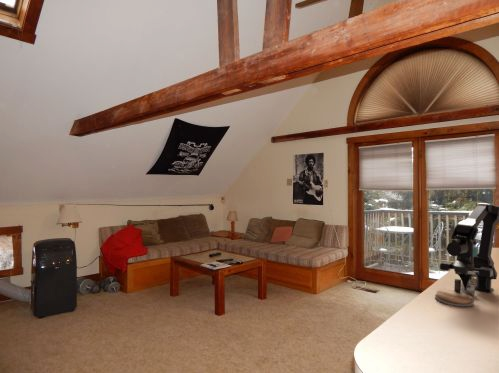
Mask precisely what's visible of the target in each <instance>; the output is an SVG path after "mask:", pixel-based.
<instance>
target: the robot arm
mask: <svg viewBox="0 0 499 373" xmlns="http://www.w3.org/2000/svg"><path fill="white" fill-rule="evenodd" d="M481 223H482V229H481V235H480V243H479V248H478V254H477V255H476V256H474V255H473V246H474V245H473V242H474V241H475V240H476V237H477V235H478V233H479V229H478V227H479V226H480V224H481ZM498 224H499V205H493V204H491V203H486V202H479V203H477V204H476V207H475V208H474V210H472V212H470V214H469V216H468V217H467V218H466V219H464V220H460V221H459V222H458V223H457V224H456V225H455V227H454V229H453V232H452V234H451V237H450V239H451V242H449V243H448V244H447V246H446V250H447V251H446V252H447V253H448V254H449V255H450V256H452V257H456V260H455V262H451V261H443V262H441V263H440V264H439V270H442V271H449V270H450V269H451V270H454V273H455V275H458V276H459V279H460V280H461V282H462V283H463V285H464V289H467V285H468V283H469V282H470V280H471V279H472V278H474V277H473V276H475V275H476V276H477V277H476V284H475V290H477V291H481V292H485V293H489V294H490V293H491V292H493V291H494V288H493V287H492V281H493V280H497V277H498V272H497V270H496V268H495V262H494V260H493V258H492V249H493V245H494V238H495V233H496V232H495V231H496V226H497V225H498Z"/></svg>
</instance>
